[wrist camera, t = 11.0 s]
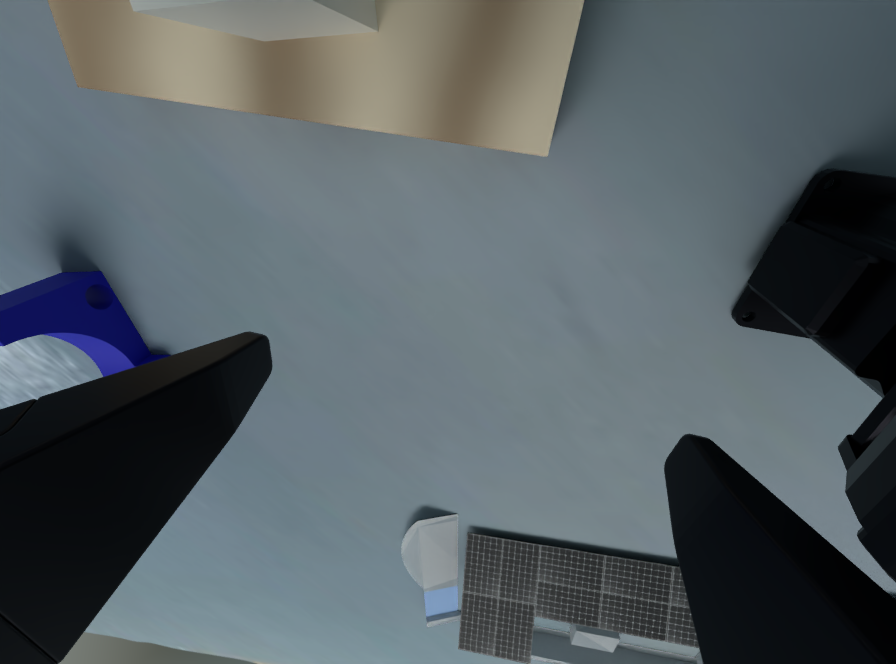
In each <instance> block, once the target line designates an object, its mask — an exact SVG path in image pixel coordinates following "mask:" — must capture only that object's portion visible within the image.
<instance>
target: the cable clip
mask: <svg viewBox="0 0 896 664" xmlns="http://www.w3.org/2000/svg"><path fill="white" fill-rule="evenodd" d="M41 334H43V335H48V336H52V337H56V338H59V339H62V340H64V341H67V342H69V343H71V344H73V345H75V346H76V347H78V348H79V349H81V350H82V351H84V352H85V353H86V354H87V355H88V356H90V357H91V359H92V360H93V361H94V362H95V363H96V365H97V366H98V367H99V369H100V371H101V373H102V375H103V377H105V376H108V375H111V374H115V373H118V372H121V371H124V370H127V369H130V368H133V367H137V366H140V365H143V364H146V363H149V362H152V361H156V360H159V359H162V358H165V357H168V356H170V355H151V353H150V351H149V350H148V348H147V346H146V345H145V343H144V341H143V340H142V338H141V336H140V335H139V333H138V331H137V330H136V328H135V326H134V325H133V323H132V321H131V320H130V318H129V316H128V315H127V313H126V312H125V310H124V308H123V307H122V305H121V303H120V302H119V300H118V298H117V297H116V295H115V293H114V292H113V290H112V288H111V287H110V285H109V283H108V282H107V280H106V278H105V277H104V275H103V273H102V272H101V271H90V272H63V273H59V274H57V275H54V276H51V277H48V278H46V279H43V280H40V281H38V282H35V283H32V284H30V285H27V286H24V287H21V288H19V289H16V290H13V291H11V292H8V293H5V294H2V295H0V346H5V345H8V344H10V343H13V342H15V341H18V340H21V339H24V338H27V337H32V336H36V335H41Z"/></svg>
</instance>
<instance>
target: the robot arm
mask: <svg viewBox="0 0 896 664" xmlns="http://www.w3.org/2000/svg"><path fill="white" fill-rule="evenodd" d="M832 178H833V180H834V181H833V184H832V185H831V186H830V188H828V189H826V190H824V185H825V183H826V182H827V181H828V180H830V179H832ZM747 312H751V314H750V315H749V316H747V317H742V316H743V315H744V314H745V313H747ZM731 315H732V318H733V319H734V320H735V322H736V323H737V324H738V325H740V326H743V327H749V328H754V329H760V330H765V331H771V332H777V333H782V334H788V335H793V336H799V337H805V338H810V339H812V340H813V341H814V342H816V343H817V344H818V345H819V346H821V347H822V348H823V349H824V350H825V351H827V352H828V353H829V354H830V355H831V356H833V357H834V358H835V359H836V360H837V361H839V362H840V363H841V364H842V365H843V366H845V367H846V368H847V369H848V370H849V371H851V372H852V373H853V374H854V375H856V376H857V377H858V378H859V379H860V380H862V381H863V382H864V383H865V384H866V385H868V386H869V387H870V388H871V389H872V390H874V391H875V392H876V393H877V394H878V395H880V396H881V397H882V398H883V399H882V400H881V401H880V402H879V404H878V405H877V406H876V407H875V408H874V410H873V411H872V412H871V413H870V414H869V416H868V417H867V418H866V419H865V421H864V422H863V423H862V424H861V425H860V427H859V428H858V429H857V430H856V432H855V433H854V434H853V435H847V436H846V437H845V438H844V440H843V441H842V442H841V443H840V445H839V446H838V450H839V452H840V455H841V457H842V460H843V462H844V465H845V468H846V470H847V477H846V489H845V493H846V495H847V497H848V499H849V501H850V503H851V505H852V508H853V510H854V512H855V514H856V516H857V518H858V521H859V522H860V524H861V525H862V528H861V529H860V530H859V531H858V533H857V536H858V538H859V540H860V542H861V543H862V545H863V546H864V547H865V549H866V550H867V551H868V552H869V553H870V554H871V556H872V557H873V558H874V559H875V560H876V561H877V563H878V564H879V565H880V566H881V567H882V569H883V570H884V571H885V572H886V573H887V574H888V576H890V577H891V578H892V579H893V580H894V581H895V582H896V177H889V176H882V175H875V174H867V173H860V172H853V171H846V170H839V169H826V170H824V171H821V172H820V173H818V174H817V175H815V176H814V178H813V179H812V180H811V181H810V183H809V185H808V186H807V188H806V190H805V191H804V193H803V195H802V196H801V198H800V200H799V201H798V203H797V204H796V206H795V208H794V209H793V211H792V213H791V214H790V216H789V218H788V219H787V221H786V223H785V224H784V225H782V226H781V227H780V229H779V230H778V232H777V234H776V235H775V237H774V239H773V240H772V242H771V244H770V245H769V247H768V249H767V250H766V252H765V254H764V255H763V257H762V259H761V260H760V262H759V264H758V265H757V267H756V269H755V270H754V272H753V274H752V275H751V277H750V279H749V280H748V286H747V288H746V289H745V291H744V293H743V294H742V296H741V298H740V299H739V301H738V303H737V304H736V306H735V308H734V309H733V311H732V314H731ZM271 371H272V358H271V350H270V343H269V339H268V337H267V336H265V335H263V334H259V333H254V332H244V333H241V334H238V335H235V336H232V337H228V338H225V339H222V340H219V341H216V342H213V343H209V344H206V345H203V346H200V347H197V348H194V349H190V350H187V351H184V352H181V353H178V354H175V355H171V356H168V357H165V358H162V359H159V360H156V361H152V362H149V363H146V364H143V365H140V366H137V367H133V368H130V369H127V370H124V371H121V372H118V373H115V374H111V375H108V376H105V377H102V378H99V379H96V380H92V381H89V382H86V383H83V384H80V385H77V386H73V387H70V388H67V389H64V390H61V391H58V392H54V393H51V394H48V395H45V396H42V397H40V398H38V400H36V399H32V400H29V401H26V402H22V403H19V404H16V405H13V406H10V407H7V408H4V409H0V664H58V663H60V662H61V661H62V660H63V659H64V657H65V656H66V655H67V653H68V652H69V651H70V650H71V648H72V647H73V645H74V644H75V643H76V642H77V640H78V639H79V638H80V636H81V635H82V634H83V632H84V631H85V630H86V628H87V627H88V626H89V624H90V623H91V622H92V620H93V619H94V618H95V617H96V615H97V614H98V613H99V611H100V610H101V609H102V607H103V606H104V605H105V603H106V602H107V601H108V599H109V598H110V597H111V595H112V594H113V593H114V591H115V590H116V589H117V588H118V586H119V585H120V584H121V582H122V581H123V580H124V578H125V577H126V576H127V574H128V573H129V572H130V570H131V569H132V568H133V566H134V565H135V564H136V562H137V561H138V560H139V558H140V557H141V556H142V555H143V553H144V552H145V551H146V549H147V548H148V547H149V545H150V544H151V543H152V541H153V540H154V539H155V537H156V536H157V535H158V533H159V532H160V531H161V529H162V528H163V527H164V526H165V524H166V523H167V522H168V520H169V519H170V518H171V516H172V515H173V514H174V512H175V511H176V510H177V508H178V507H179V506H180V504H181V503H182V502H183V500H184V499H185V498H186V497H187V495H188V494H189V493H190V491H191V490H192V489H193V487H194V486H195V485H196V483H197V482H198V481H199V479H200V478H201V477H202V475H203V474H204V473H205V471H206V470H207V469H208V467H209V466H210V465H211V464H212V462H213V461H214V460H215V458H216V457H217V456H218V454H219V453H220V452H221V450H222V449H223V448H224V446H225V445H226V444H227V442H228V441H229V440H230V438H231V437H232V436H233V434H234V433H235V431H236V430H237V428H238V427H239V425H240V424H241V422H242V421H243V419H244V417H245V416H246V414H247V412H248V411H249V409H250V407H251V406H252V404H253V402H254V401H255V399H256V397H257V396H258V394H259V392H260V391H261V389H262V387H263V386H264V384H265V382H266V381H267V379H268V377H269V376H270V374H271ZM664 472H665V480H666V487H667V495H668V502H669V510H670V518H671V525H672V533H673V539H674V544H675V549H676V554H677V558H678V562H679V566H680V571H681V575H682V579H683V583H684V587H685V591H686V595H687V599H688V604H689V608H690V612H691V616H692V620H693V624H694V628H695V633H696V637H697V641H698V645H699V649H700V653H701V657H702V662H703V664H896V600H895V599H894V598H892V597H891V596H890V595H889V594H888V593H887V592H886V591H884V590H883V589H882V588H881V587H880V586H879V585H877V584H876V583H875V582H874V581H873V580H872V579H871V578H869V577H868V576H867V575H866V574H865V573H864V572H862V571H861V570H860V569H859V568H858V567H857V566H856V565H854V564H853V563H852V562H851V561H850V560H849V559H848V558H846V557H845V556H844V555H843V554H842V553H841V552H839V551H838V550H837V549H836V548H835V547H834V546H833V545H831V544H830V543H829V542H828V541H827V540H826V539H824V538H823V537H822V536H821V535H820V534H819V533H818V532H816V531H815V530H814V529H813V528H812V527H811V526H809V525H808V524H807V523H806V522H805V521H804V520H803V519H801V518H800V517H799V516H798V515H797V514H796V513H795V512H793V511H792V510H791V509H790V508H789V507H788V506H786V505H785V504H784V503H783V502H782V501H781V500H780V499H778V498H777V497H776V496H775V495H774V494H773V493H771V492H770V491H769V490H768V489H767V488H766V487H765V486H763V485H762V484H761V483H760V482H759V481H758V480H757V479H755V478H754V477H753V476H752V475H751V474H750V473H748V472H747V471H746V470H745V469H744V468H743V467H742V466H740V465H739V464H738V463H737V462H736V461H735V460H734V459H732V458H731V457H730V456H729V455H728V454H727V453H725V452H724V451H723V450H722V449H721V448H720V447H719V446H717V445H716V444H715V443H714V442H713V441H712V440H710V439H708V438H706V437H702V436H697V435H693V434H686V435H684V436H682V438H681V439H680V440H679V442H678V443H677V445H676V446H675V447H674V449H673V450H672V452H671V453H670V454H669V456H668V457H667V459H666V462H665V466H664Z"/></svg>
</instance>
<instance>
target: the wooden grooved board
mask: <svg viewBox="0 0 896 664" xmlns="http://www.w3.org/2000/svg"><path fill="white" fill-rule="evenodd" d="M48 3H49V6H50V9H51V12H52V14H53V17H54V20H55V23H56V26H57V29H58V32H59V34H60V37H61V40H62V43H63V46H64V49H65V52H66V55H67V57H68V60H69V63H70V66H71V69H72V72H73V75H74V77H75V80H76V83H77V86H78V87H81V88H88V89H95V90H101V91H108V92H115V93H122V94H128V95H135V96H142V97H148V98H155V99H162V100H169V101H175V102H182V103H189V104H196V105H202V106H209V107H216V108H222V109H229V110H236V111H243V112H249V113H256V114H263V115H269V116H276V117H283V118H290V119H296V120H303V121H310V122H316V123H323V124H330V125H337V126H343V127H350V128H357V129H363V130H370V131H377V132H384V133H390V134H397V135H404V136H410V137H417V138H424V139H431V140H437V141H444V142H451V143H458V144H464V145H471V146H478V147H484V148H491V149H498V150H505V151H511V152H518V153H525V154H531V155H538V156H545V157H547V156H548V152H549V148H550V144H551V139H552V135H553V131H554V127H555V123H556V118H557V114H558V110H559V106H560V101H561V97H562V93H563V89H564V84H565V80H566V76H567V72H568V67H569V63H570V59H571V55H572V51H573V46H574V42H575V38H576V34H577V29H578V25H579V21H580V17H581V12H582V8H583V4H584V0H375V7H376V16H377V25H378V32H368V33H357V34H345V35H333V36H322V37H310V38H298V39H287V40H275V41H260V40H256V39H252V38H247V37H243V36H238V35H234V34H230V33H225V32H221V31H217V30H212V29H208V28H204V27H199V26H195V25H191V24H186V23H182V22H178V21H173V20H169V19H165V18H160V17H156V16H152V15H147V14H143V13H139V12H134V11H133V9H132V6H131V3H130V1H129V0H48Z"/></svg>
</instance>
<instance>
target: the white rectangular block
mask: <svg viewBox="0 0 896 664" xmlns="http://www.w3.org/2000/svg"><path fill="white" fill-rule="evenodd" d="M129 1H130V3H131V6H132V9H133V11H134V12H139V13H143V14H147V15H152V16H156V17H160V18H165V19H169V20H173V21H178V22H182V23H186V24H191V25H195V26H199V27H204V28H208V29H212V30H217V31H221V32H225V33H230V34H234V35H238V36H243V37H247V38H252V39H256V40H260V41H275V40H287V39H298V38H310V37H322V36H333V35H345V34H357V33H368V32H378V25H377V16H376V7H375V0H129Z"/></svg>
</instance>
